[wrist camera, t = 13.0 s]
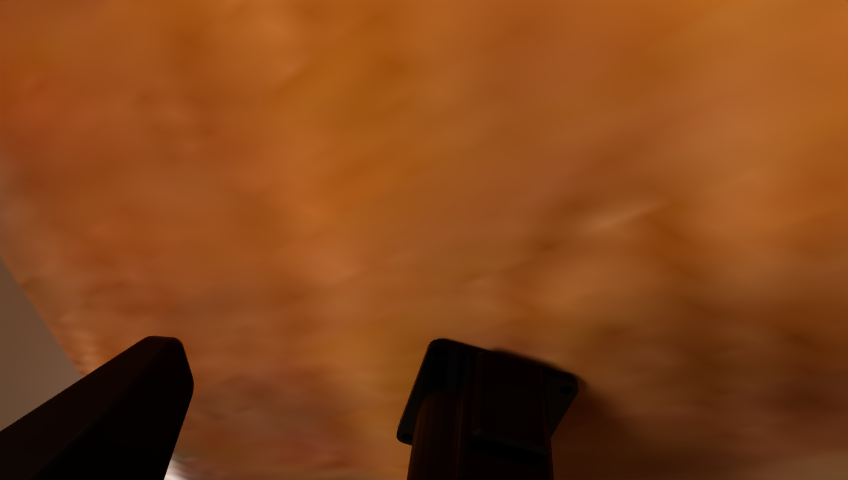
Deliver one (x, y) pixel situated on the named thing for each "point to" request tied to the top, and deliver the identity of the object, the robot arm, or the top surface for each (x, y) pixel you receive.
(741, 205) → the top surface
